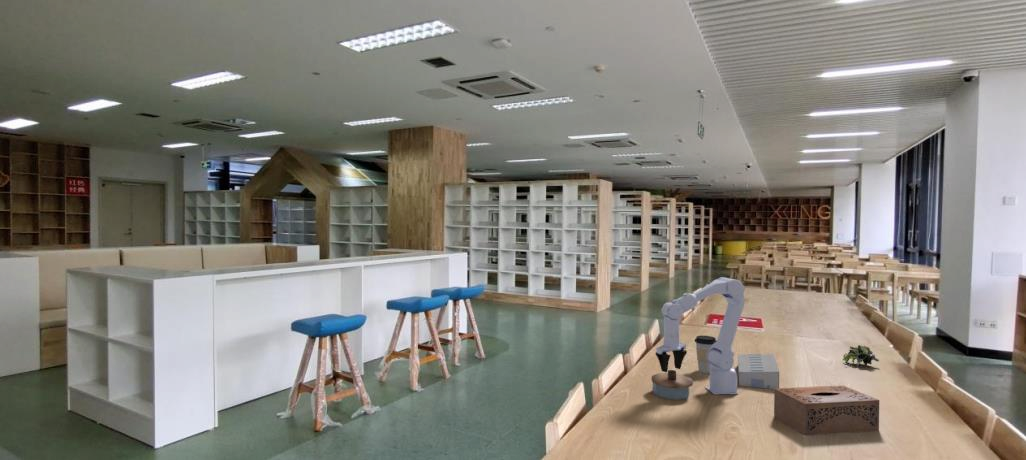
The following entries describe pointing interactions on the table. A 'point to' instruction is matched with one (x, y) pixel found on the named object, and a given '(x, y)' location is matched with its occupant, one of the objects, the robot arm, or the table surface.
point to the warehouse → (758, 370)
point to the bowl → (670, 392)
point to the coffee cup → (704, 352)
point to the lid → (672, 380)
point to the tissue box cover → (826, 410)
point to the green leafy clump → (860, 355)
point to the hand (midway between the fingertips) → (671, 369)
